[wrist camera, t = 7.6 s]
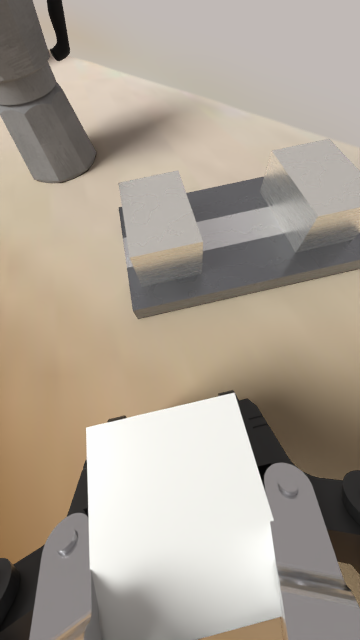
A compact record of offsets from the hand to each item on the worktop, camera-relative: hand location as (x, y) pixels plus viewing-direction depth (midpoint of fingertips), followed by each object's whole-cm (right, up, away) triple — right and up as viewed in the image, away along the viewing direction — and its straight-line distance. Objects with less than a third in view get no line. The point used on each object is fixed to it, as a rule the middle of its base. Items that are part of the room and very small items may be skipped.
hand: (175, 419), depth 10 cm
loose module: (+1, -4, +3) cm, 5 cm away
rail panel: (+5, +12, +10) cm, 17 cm away
